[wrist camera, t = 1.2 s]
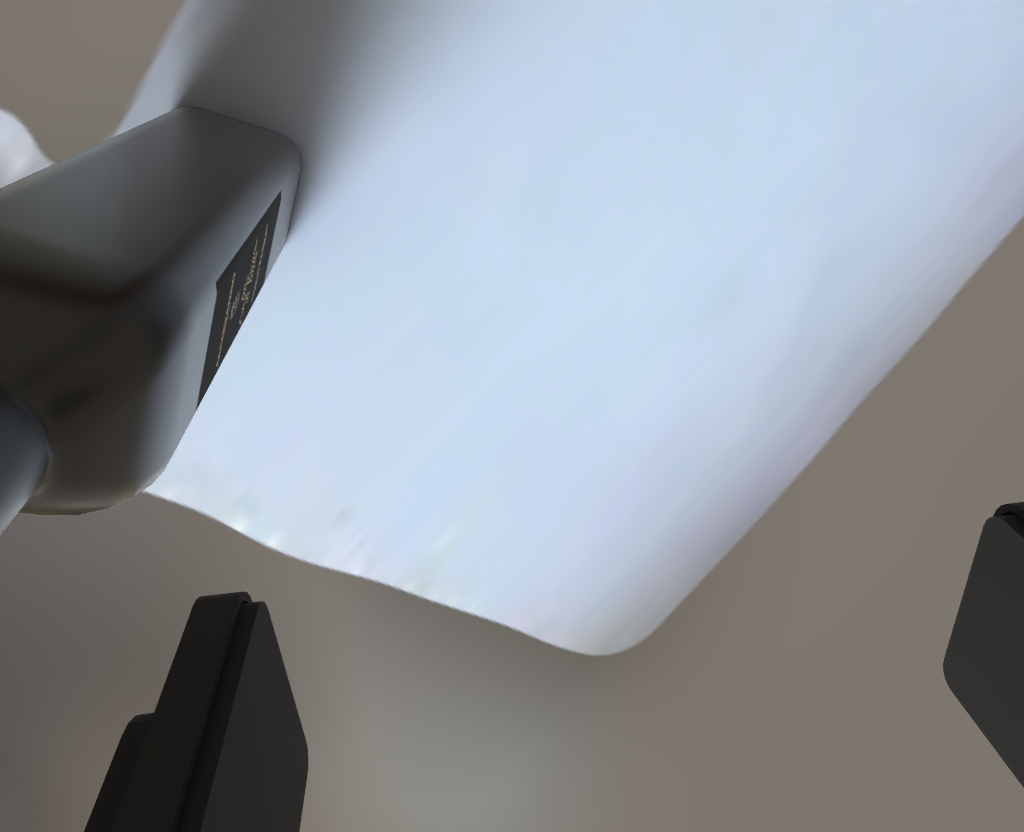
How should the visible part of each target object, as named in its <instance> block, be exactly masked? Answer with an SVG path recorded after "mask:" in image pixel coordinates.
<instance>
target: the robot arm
mask: <svg viewBox="0 0 1024 832" xmlns="http://www.w3.org/2000/svg"><path fill="white" fill-rule="evenodd" d="M943 670H944V675H945V679H946V681H947V684H948V686H949V688H950V689H951V691H952V692H953V694H954V695H955V696H956V697H957V699H958V700H959V702H960V703H961V704H962V706H963V707H964V708H965V709H966V711H967V712H968V713H969V715H970V716H971V717H972V719H973V720H974V722H975V723H976V724H977V726H978V727H979V728H980V730H981V731H982V732H983V734H984V735H985V736H986V738H987V739H988V740H989V742H990V743H991V744H992V746H993V747H994V748H995V750H996V751H997V752H998V754H999V755H1000V757H1001V758H1002V759H1003V761H1004V762H1005V763H1006V765H1007V766H1008V767H1009V768H1010V770H1011V771H1012V772H1013V774H1014V775H1015V777H1016V778H1017V779H1018V781H1019V782H1020V783H1021V785H1022V786H1023V787H1024V502H1019V503H1011V504H1005V505H1001V506H1000V507H999V508H998V509H997V510H996V512H995V514H994V516H993V517H991V518H989V519H988V520H987V521H986V522H985V524H984V526H983V530H982V533H981V536H980V540H979V543H978V546H977V550H976V553H975V556H974V560H973V563H972V567H971V570H970V574H969V577H968V581H967V583H966V587H965V590H964V594H963V597H962V600H961V604H960V607H959V610H958V614H957V617H956V621H955V624H954V627H953V631H952V634H951V637H950V641H949V644H948V648H947V651H946V654H945V658H944V662H943ZM307 773H308V749H307V743H306V739H305V735H304V732H303V729H302V725H301V722H300V718H299V715H298V711H297V708H296V705H295V701H294V697H293V694H292V691H291V687H290V684H289V680H288V677H287V673H286V670H285V666H284V663H283V660H282V656H281V653H280V649H279V646H278V642H277V639H276V635H275V632H274V628H273V625H272V622H271V618H270V615H269V611H268V608H267V605H266V604H265V602H262V601H261V602H252V600H251V597H250V596H249V594H248V593H247V592H236V593H227V594H219V595H211V596H201V597H199V598H198V599H197V600H196V601H195V603H194V605H193V607H192V610H191V613H190V616H189V619H188V621H187V624H186V627H185V630H184V632H183V635H182V638H181V641H180V643H179V646H178V649H177V652H176V654H175V657H174V660H173V662H172V665H171V668H170V671H169V674H168V676H167V679H166V682H165V684H164V687H163V690H162V693H161V695H160V698H159V701H158V704H157V707H156V709H155V712H154V713H148V714H141V715H137V716H135V717H134V718H133V719H132V720H131V721H130V722H129V723H128V725H127V727H126V729H125V731H124V733H123V735H122V737H121V739H120V742H119V744H118V747H117V749H116V752H115V755H114V757H113V760H112V762H111V765H110V767H109V770H108V772H107V775H106V777H105V780H104V782H103V785H102V787H101V790H100V793H99V795H98V798H97V800H96V803H95V805H94V808H93V810H92V813H91V816H90V818H89V821H88V823H87V825H86V828H85V831H84V832H299V830H300V823H301V816H302V808H303V802H304V794H305V788H306V781H307Z"/></svg>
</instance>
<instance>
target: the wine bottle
mask: <svg viewBox="0 0 1024 832" xmlns="http://www.w3.org/2000/svg"><path fill="white" fill-rule="evenodd" d="M300 172H301V155H300V153H299V151H298V150H297V148H296V146H295V145H294V143H293V142H292V141H291V140H289V139H287V138H286V137H284V136H283V135H281V134H279V133H275V132H272V131H269V130H266V129H263V128H260V127H257V126H254V125H250V124H247V123H244V122H241V121H238V120H235V119H232V118H229V117H225V116H222V115H219V114H216V113H213V112H210V111H207V110H204V109H201V108H197V107H179V108H177V109H175V110H173V111H171V112H168V113H166V114H164V115H162V116H159V117H157V118H155V119H153V120H151V121H148V122H146V123H144V124H142V125H140V126H137V127H135V128H133V129H131V130H129V131H126V132H124V133H122V134H120V135H118V136H115V137H113V138H111V139H109V140H107V141H104V142H102V143H100V144H98V145H96V146H93V147H91V148H89V149H87V150H85V151H82V152H80V153H78V154H76V155H73V156H72V157H69V158H67V159H65V160H63V161H60V162H58V163H56V164H54V165H51V166H49V167H47V168H45V169H43V170H40V171H38V172H36V173H34V174H32V175H29V176H27V177H25V178H23V179H21V180H18V181H16V182H14V183H12V184H9V185H7V186H5V187H3V188H1V189H0V535H1V533H2V532H3V531H4V530H5V529H6V527H7V526H8V525H9V523H10V522H11V521H12V519H13V518H14V517H15V516H16V514H17V513H23V514H33V515H81V514H86V513H91V512H95V511H100V510H104V509H108V508H110V507H112V506H114V505H117V504H119V503H121V502H123V501H125V500H128V499H130V498H132V497H134V496H135V495H137V494H138V493H140V492H141V491H142V490H144V489H145V488H147V487H148V486H150V485H151V484H152V483H153V482H154V481H155V480H156V479H157V478H158V477H159V476H160V475H161V473H162V472H163V471H164V470H165V468H166V466H167V464H168V462H169V461H170V459H171V457H172V455H173V453H174V451H175V449H176V448H177V446H178V444H179V442H180V440H181V438H182V436H183V434H184V433H185V431H186V429H187V427H188V425H189V423H190V421H191V419H192V418H193V416H194V414H195V412H196V410H197V408H198V406H199V404H200V402H201V401H202V399H203V397H204V395H205V393H206V391H207V389H208V387H209V386H210V384H211V382H212V380H213V378H214V376H215V374H216V372H217V371H218V369H219V367H220V365H221V363H222V361H223V359H224V357H225V356H226V354H227V352H228V350H229V348H230V346H231V344H232V342H233V340H234V339H235V337H236V335H237V333H238V331H239V329H240V327H241V325H242V324H243V322H244V320H245V318H246V316H247V314H248V312H249V310H250V309H251V307H252V305H253V303H254V301H255V299H256V297H257V295H258V294H259V292H260V290H261V288H262V286H263V284H264V282H265V280H266V278H267V277H268V275H269V273H270V271H271V269H272V267H273V265H274V263H275V262H276V260H277V258H278V256H279V254H280V252H281V250H282V248H283V247H284V245H285V243H286V238H287V233H288V229H289V224H290V219H291V215H292V210H293V205H294V200H295V196H296V191H297V186H298V182H299V177H300Z"/></svg>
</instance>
